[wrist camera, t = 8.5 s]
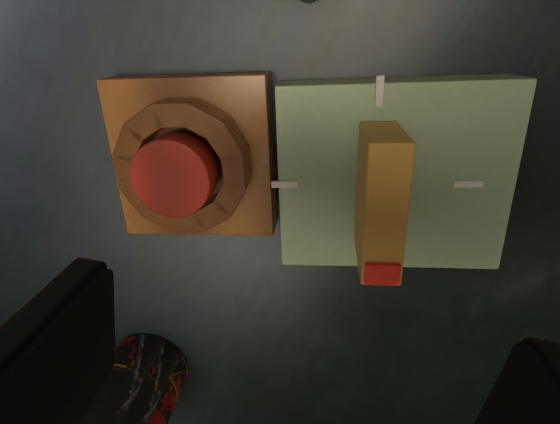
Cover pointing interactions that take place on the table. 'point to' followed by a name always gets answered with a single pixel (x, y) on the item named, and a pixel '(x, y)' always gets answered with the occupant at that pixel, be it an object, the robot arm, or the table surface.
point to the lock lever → (382, 201)
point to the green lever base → (426, 171)
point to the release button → (174, 174)
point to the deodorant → (140, 383)
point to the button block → (211, 131)
